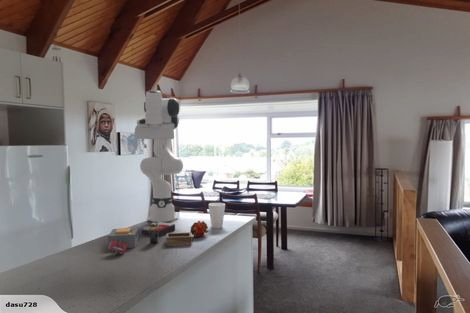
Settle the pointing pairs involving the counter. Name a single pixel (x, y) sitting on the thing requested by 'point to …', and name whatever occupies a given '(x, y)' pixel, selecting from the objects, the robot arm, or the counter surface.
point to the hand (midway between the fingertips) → (154, 148)
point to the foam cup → (216, 214)
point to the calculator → (160, 229)
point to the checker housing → (125, 237)
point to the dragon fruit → (199, 229)
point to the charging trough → (178, 239)
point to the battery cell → (153, 233)
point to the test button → (123, 231)
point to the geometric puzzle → (117, 246)
